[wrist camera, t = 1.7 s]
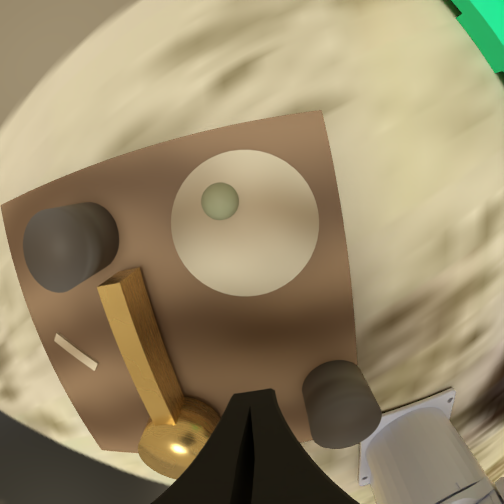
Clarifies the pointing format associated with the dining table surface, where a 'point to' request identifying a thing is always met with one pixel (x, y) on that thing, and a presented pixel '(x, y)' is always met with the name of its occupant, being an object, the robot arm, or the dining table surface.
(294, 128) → the levelling base
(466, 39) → the dining table surface
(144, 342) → the brass lever handle
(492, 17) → the green triangular bracket
